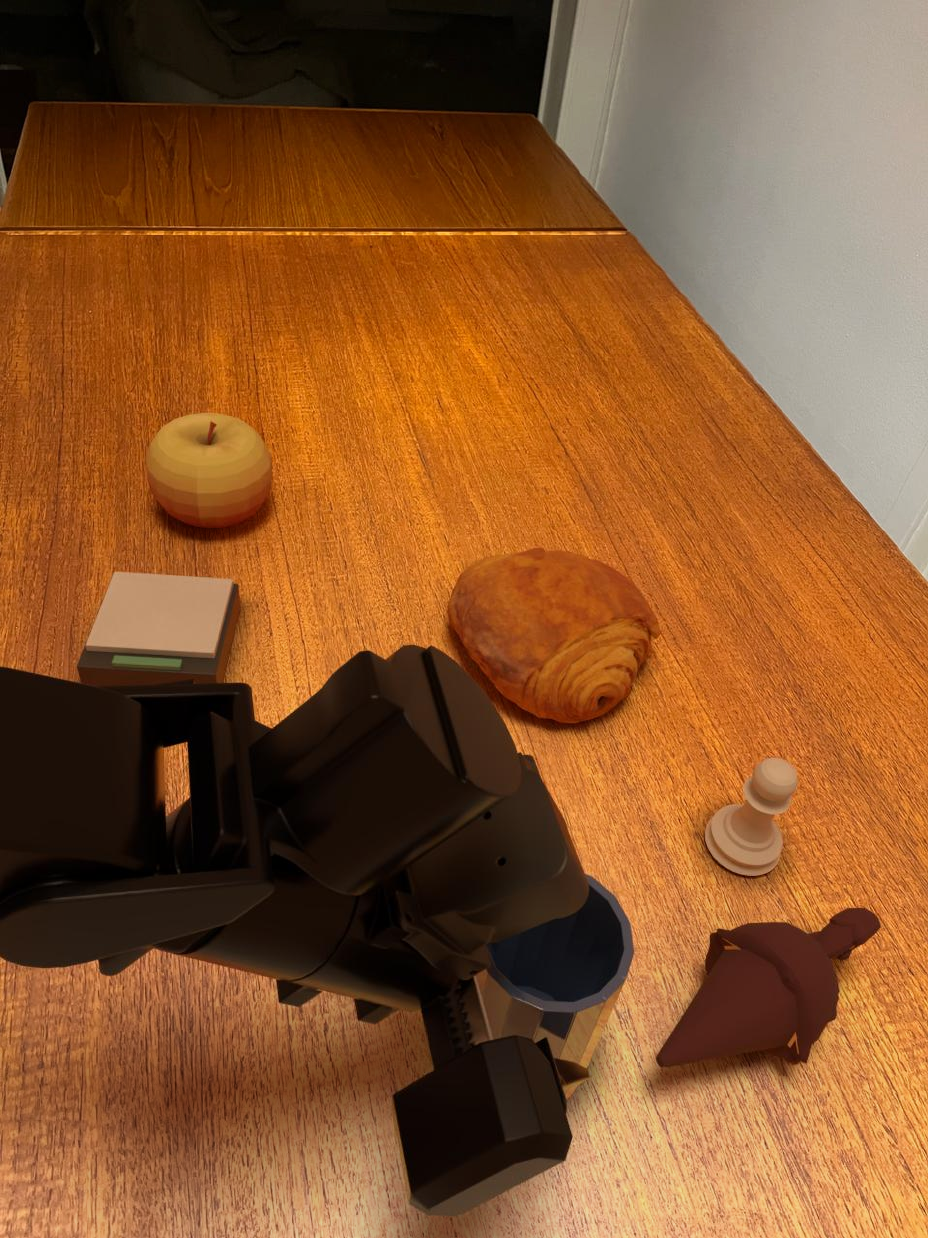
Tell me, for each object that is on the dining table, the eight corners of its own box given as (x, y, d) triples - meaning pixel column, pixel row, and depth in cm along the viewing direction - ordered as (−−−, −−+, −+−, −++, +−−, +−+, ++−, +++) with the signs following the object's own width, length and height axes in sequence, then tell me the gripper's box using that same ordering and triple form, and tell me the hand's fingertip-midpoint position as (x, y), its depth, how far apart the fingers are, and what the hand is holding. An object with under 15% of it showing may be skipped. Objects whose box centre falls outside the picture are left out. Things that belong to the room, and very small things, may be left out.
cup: (452, 1115, 48) (476, 1008, 40) (453, 980, 53) (474, 860, 44) (591, 1120, 48) (643, 1015, 40) (579, 985, 53) (623, 867, 45)
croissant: (506, 770, 66) (526, 706, 60) (417, 600, 74) (427, 528, 68) (682, 708, 71) (718, 644, 65) (581, 555, 79) (604, 485, 73)
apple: (287, 481, 83) (283, 400, 78) (259, 553, 76) (253, 470, 71) (174, 466, 84) (162, 384, 78) (135, 537, 77) (120, 452, 71)
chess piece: (777, 887, 59) (823, 811, 53) (700, 866, 59) (737, 788, 54) (780, 825, 62) (823, 747, 57) (706, 805, 63) (742, 725, 57)
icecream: (743, 1127, 42) (939, 972, 50) (647, 971, 45) (847, 847, 53) (670, 1149, 48) (857, 1007, 55) (589, 1009, 51) (777, 891, 58)
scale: (82, 691, 65) (74, 660, 63) (117, 599, 71) (110, 568, 69) (218, 698, 66) (214, 668, 63) (240, 607, 72) (237, 577, 70)
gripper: (554, 1059, 26) (789, 1114, 36) (412, 594, 39) (615, 731, 49) (274, 1217, 30) (559, 1227, 40) (228, 744, 43) (453, 843, 53)
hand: (548, 978), depth 45 cm, fingers open, 9 cm apart
